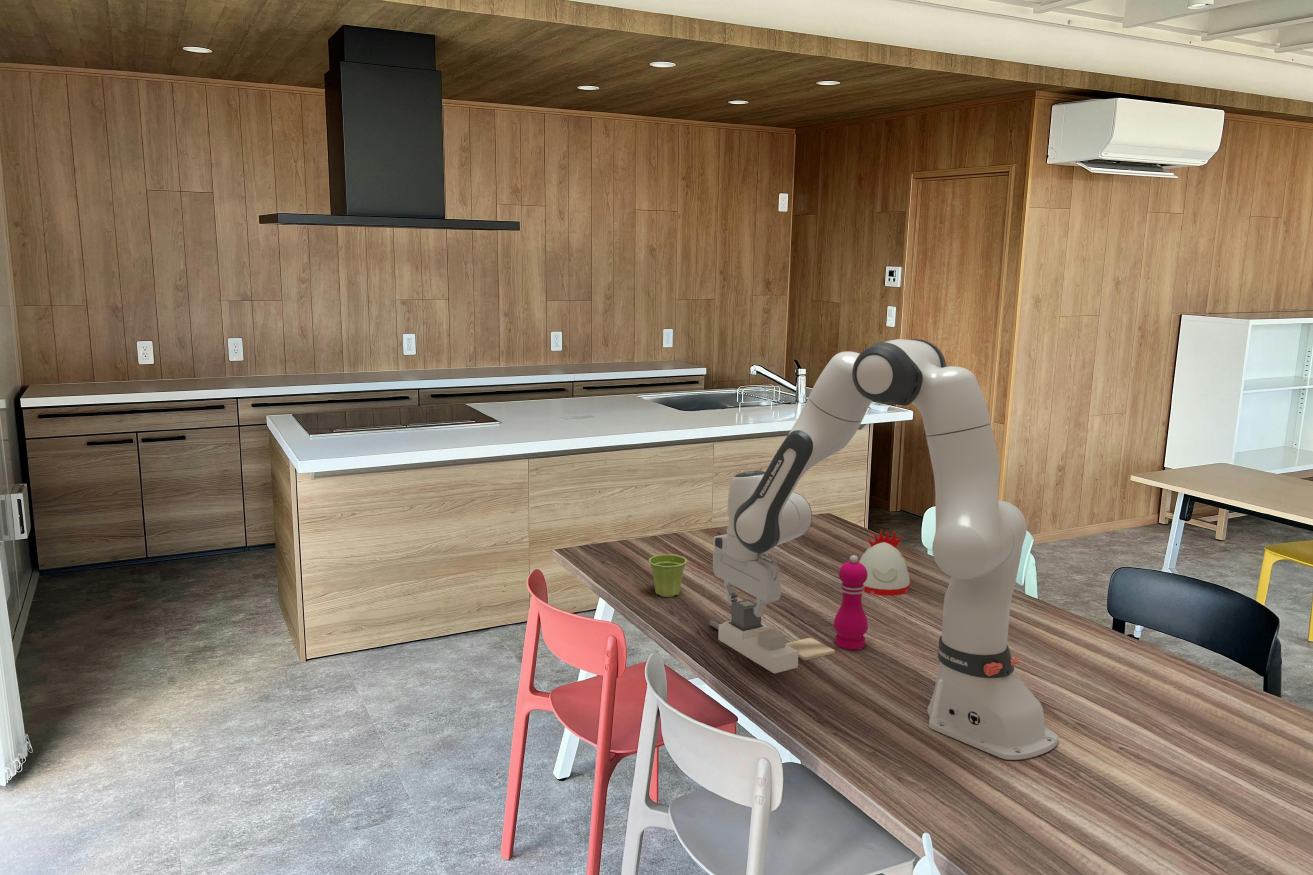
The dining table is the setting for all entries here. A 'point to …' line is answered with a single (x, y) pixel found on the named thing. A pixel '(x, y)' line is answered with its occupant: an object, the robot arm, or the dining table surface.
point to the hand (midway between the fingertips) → (744, 608)
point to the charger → (744, 615)
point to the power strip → (759, 646)
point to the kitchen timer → (885, 567)
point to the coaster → (810, 648)
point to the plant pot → (667, 574)
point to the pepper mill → (851, 606)
